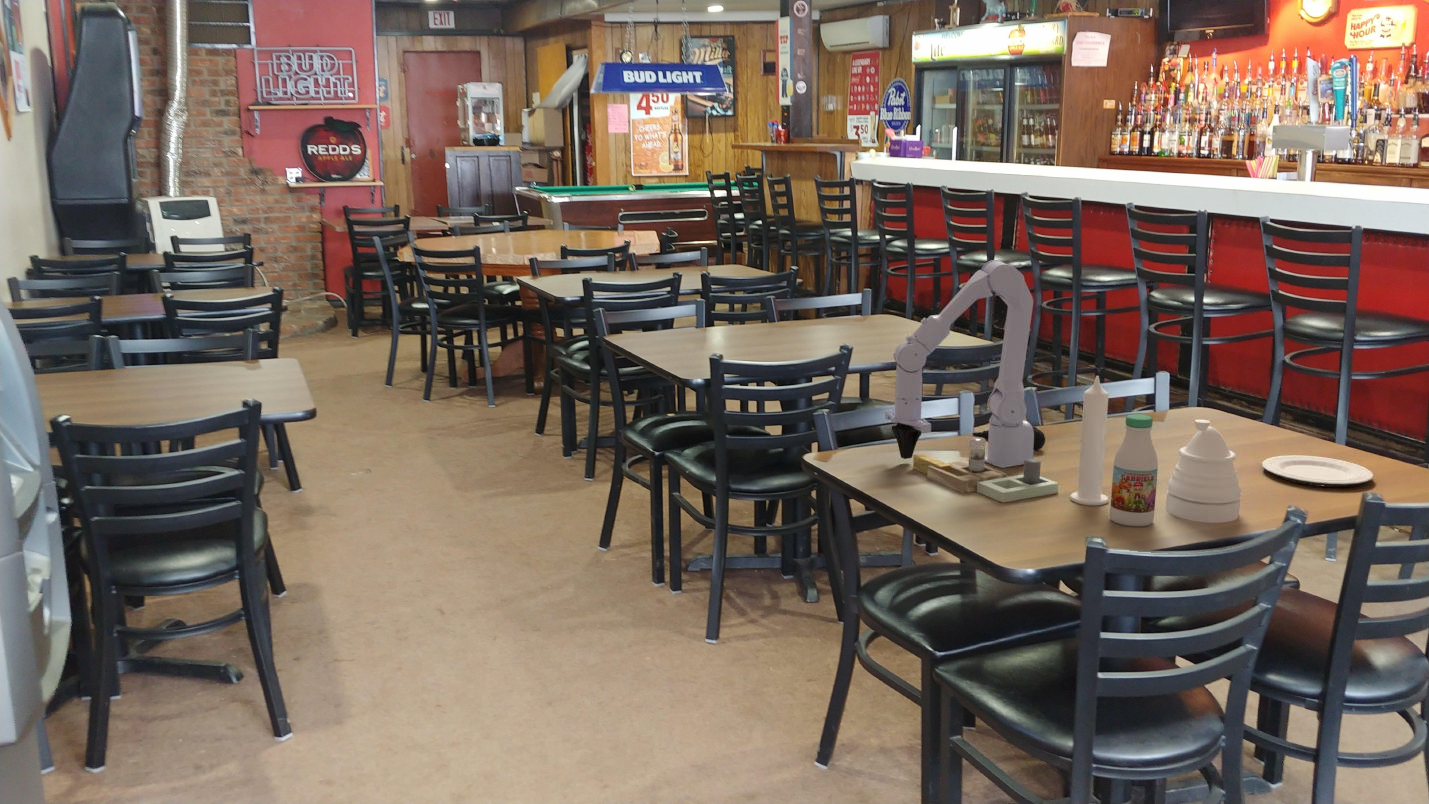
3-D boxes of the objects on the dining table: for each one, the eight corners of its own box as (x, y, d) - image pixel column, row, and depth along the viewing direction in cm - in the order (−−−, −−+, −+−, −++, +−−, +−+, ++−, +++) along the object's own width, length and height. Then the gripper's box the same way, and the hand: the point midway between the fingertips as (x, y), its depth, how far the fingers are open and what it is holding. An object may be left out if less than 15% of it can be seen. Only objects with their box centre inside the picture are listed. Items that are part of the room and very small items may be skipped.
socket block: (969, 470, 245) (970, 459, 245) (1006, 485, 235) (1007, 473, 234) (927, 477, 240) (927, 466, 240) (963, 492, 230) (963, 481, 229)
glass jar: (977, 477, 240) (978, 436, 238) (986, 481, 237) (988, 439, 235) (964, 479, 239) (966, 438, 237) (974, 483, 236) (976, 441, 234)
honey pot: (1202, 526, 209) (1211, 431, 205) (1150, 506, 221) (1158, 416, 217) (1254, 517, 214) (1263, 424, 210) (1200, 498, 226) (1209, 409, 222)
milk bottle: (1102, 514, 216) (1110, 412, 211) (1142, 513, 217) (1150, 411, 212) (1120, 528, 208) (1128, 422, 204) (1160, 526, 209) (1169, 421, 205)
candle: (1089, 507, 220) (1097, 381, 215) (1062, 497, 226) (1070, 374, 221) (1115, 502, 223) (1125, 377, 218) (1088, 492, 229) (1097, 370, 224)
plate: (1384, 475, 240) (1385, 466, 240) (1356, 498, 225) (1358, 489, 225) (1279, 457, 254) (1280, 449, 254) (1246, 478, 239) (1247, 469, 239)
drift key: (922, 467, 248) (922, 453, 247) (950, 478, 239) (951, 465, 239) (913, 468, 247) (913, 455, 246) (941, 480, 238) (941, 466, 238)
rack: (1030, 482, 237) (1032, 454, 235) (1058, 492, 230) (1059, 463, 228) (976, 491, 231) (978, 462, 229) (1002, 502, 224) (1004, 473, 222)
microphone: (969, 449, 274) (1038, 457, 258) (963, 428, 272) (1032, 434, 256) (983, 439, 277) (1052, 445, 261) (977, 418, 275) (1046, 423, 259)
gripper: (874, 392, 253) (872, 452, 256) (912, 406, 240) (910, 468, 243) (900, 389, 256) (899, 448, 259) (940, 402, 243) (937, 464, 246)
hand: (906, 457), depth 251 cm, fingers closed
